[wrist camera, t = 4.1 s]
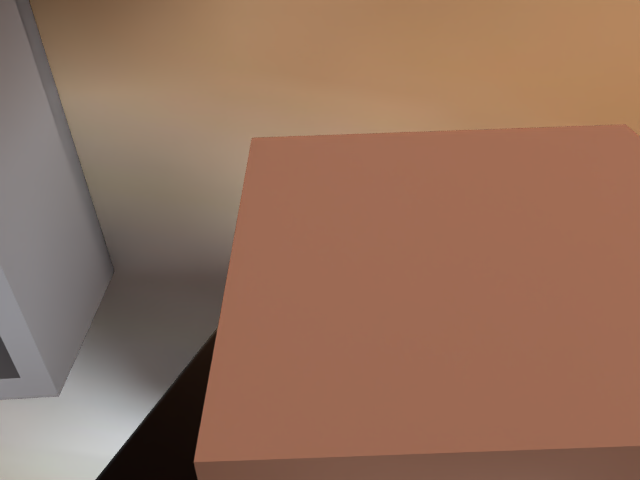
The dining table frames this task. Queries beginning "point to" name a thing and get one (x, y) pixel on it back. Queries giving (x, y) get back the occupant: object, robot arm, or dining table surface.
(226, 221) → the dining table surface
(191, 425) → the robot arm
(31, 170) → the tote
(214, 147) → the dining table surface
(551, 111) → the dining table surface
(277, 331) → the terracotta cube
